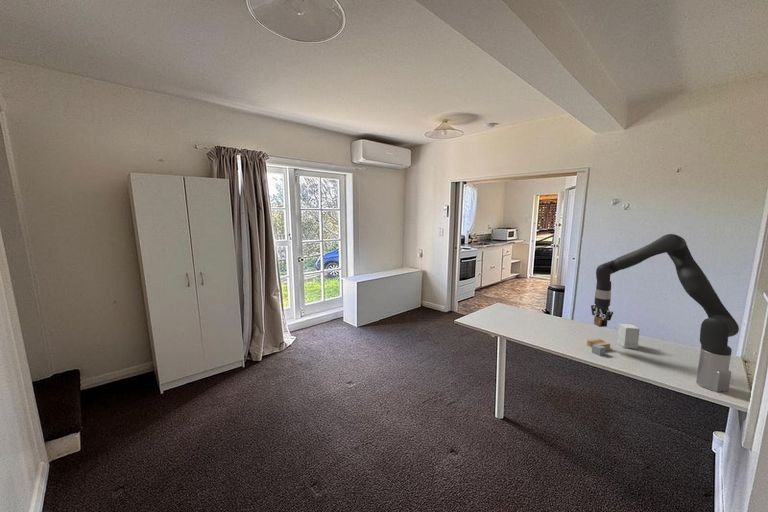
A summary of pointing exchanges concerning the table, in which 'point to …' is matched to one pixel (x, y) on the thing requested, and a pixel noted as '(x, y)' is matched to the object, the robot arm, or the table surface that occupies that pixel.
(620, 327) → the supplement box
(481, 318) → the table surface
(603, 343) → the oak base block
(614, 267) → the robot arm
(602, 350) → the grey painted cube
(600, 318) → the walnut cube
